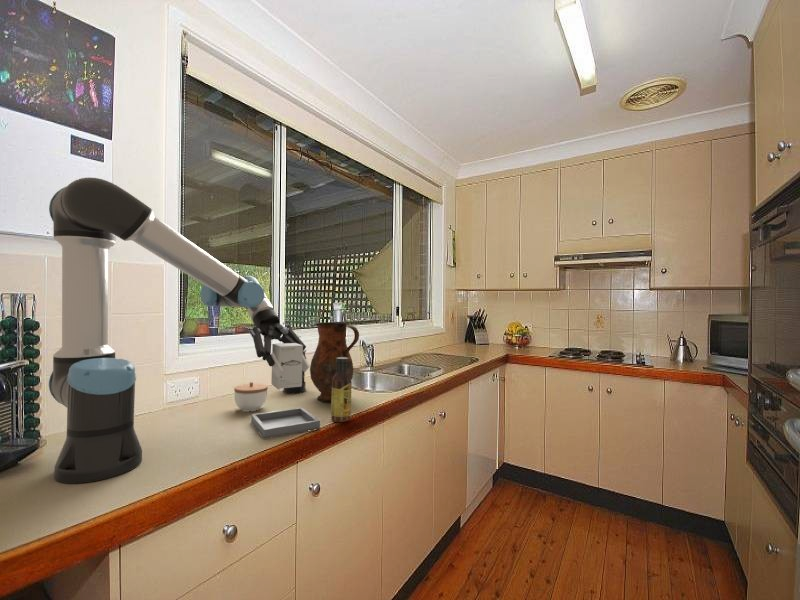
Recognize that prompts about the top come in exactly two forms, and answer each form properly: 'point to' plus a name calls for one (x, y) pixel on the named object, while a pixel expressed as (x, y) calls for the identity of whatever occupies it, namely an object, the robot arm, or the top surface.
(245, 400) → the lidded jar
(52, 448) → the top surface
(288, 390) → the french press
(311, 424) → the tray
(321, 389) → the pitcher
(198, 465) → the top surface
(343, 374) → the sauce bottle
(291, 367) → the supplement box
